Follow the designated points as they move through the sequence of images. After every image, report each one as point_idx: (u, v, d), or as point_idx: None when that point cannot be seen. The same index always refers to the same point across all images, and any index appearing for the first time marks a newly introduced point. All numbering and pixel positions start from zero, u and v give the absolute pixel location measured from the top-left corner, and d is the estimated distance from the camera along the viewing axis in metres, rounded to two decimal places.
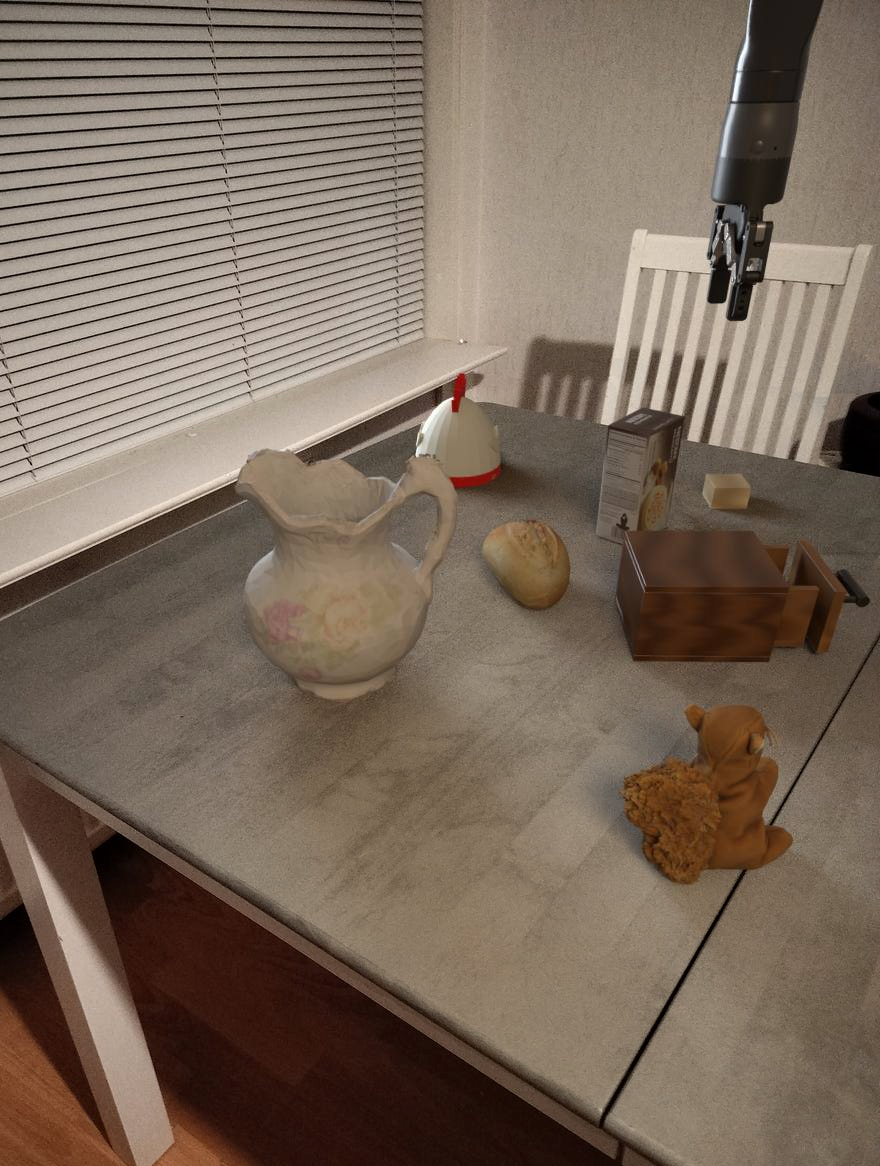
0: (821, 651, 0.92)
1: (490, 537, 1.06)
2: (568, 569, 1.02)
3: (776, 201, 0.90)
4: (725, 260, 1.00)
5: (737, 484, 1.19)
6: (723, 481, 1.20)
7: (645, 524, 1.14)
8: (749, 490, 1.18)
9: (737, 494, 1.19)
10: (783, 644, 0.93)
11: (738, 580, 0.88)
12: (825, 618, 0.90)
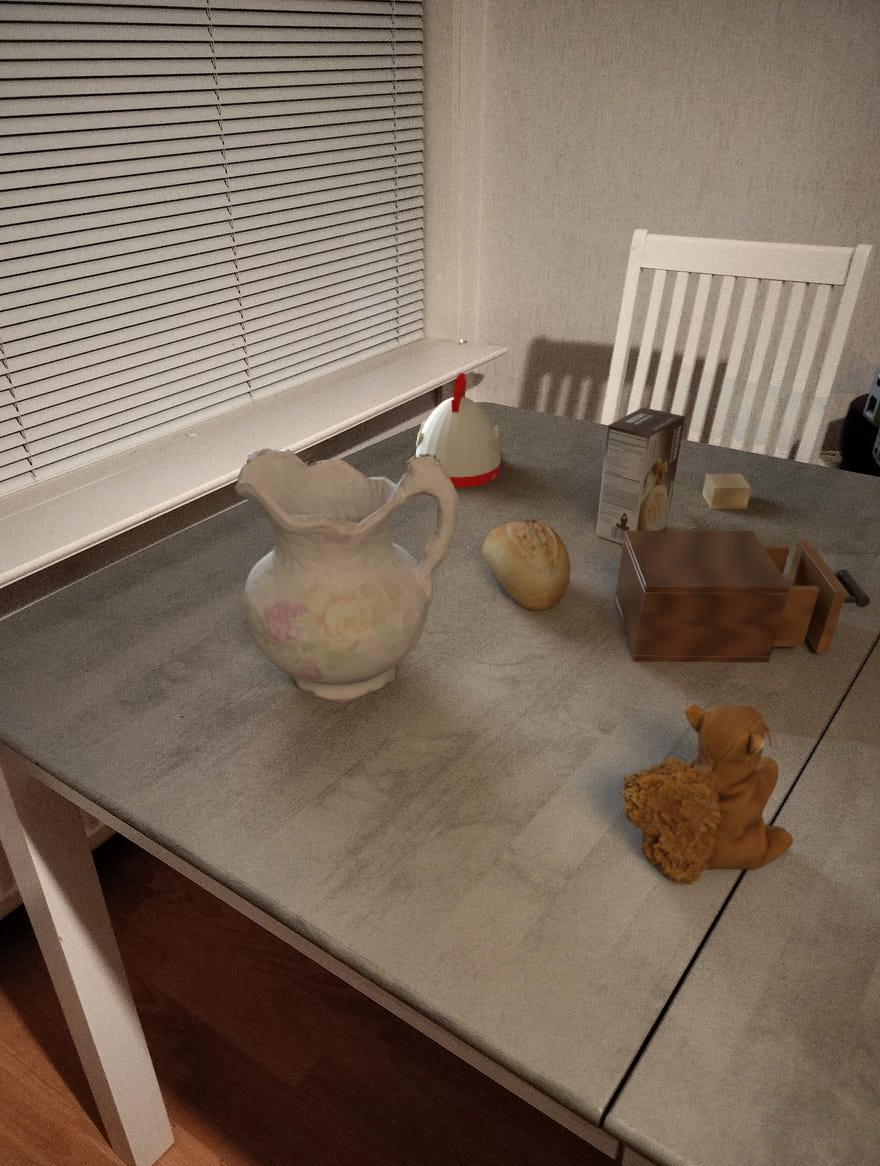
0: (821, 651, 0.92)
1: (490, 537, 1.06)
2: (568, 569, 1.02)
3: None
4: None
5: (737, 484, 1.19)
6: (723, 481, 1.20)
7: (645, 524, 1.14)
8: (749, 490, 1.18)
9: (737, 494, 1.19)
10: (783, 644, 0.93)
11: (738, 580, 0.88)
12: (825, 618, 0.90)
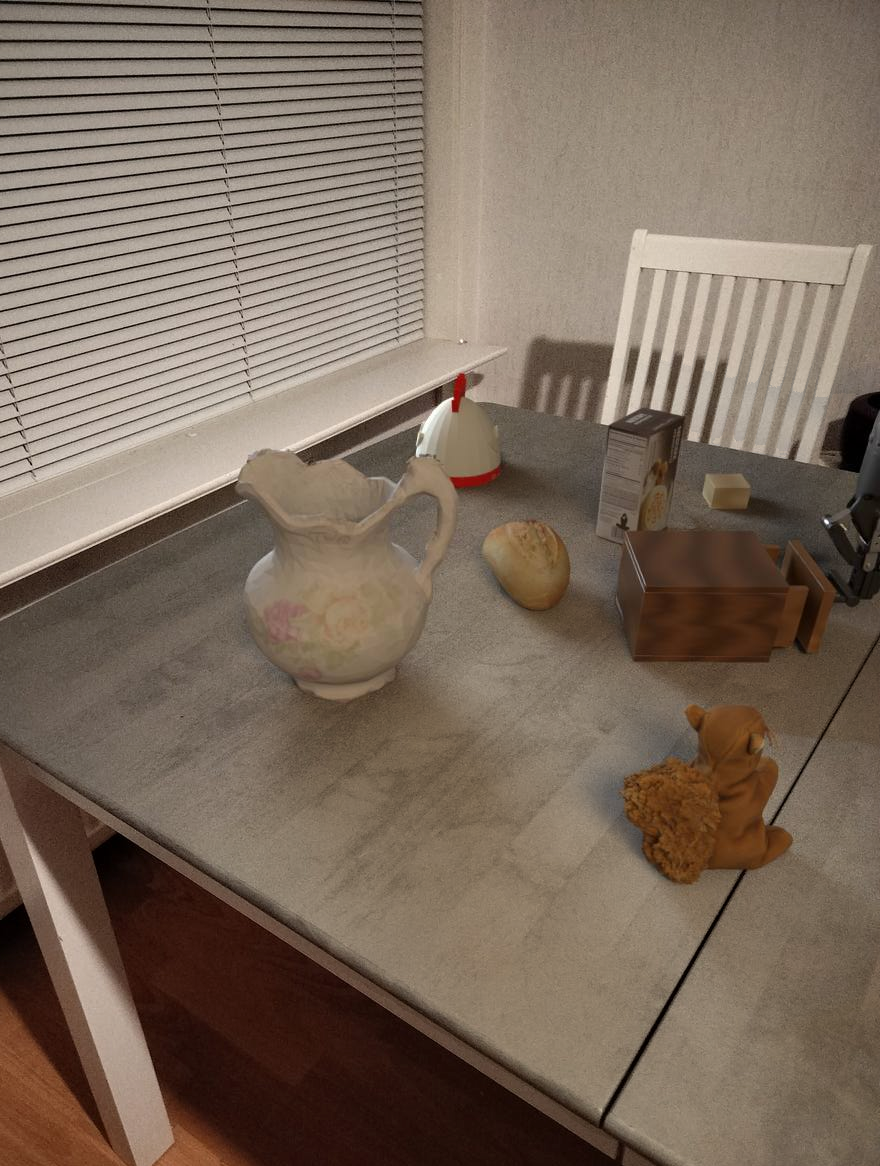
0: (811, 651, 0.92)
1: (490, 537, 1.06)
2: (568, 569, 1.02)
3: (879, 497, 0.85)
4: (877, 559, 0.92)
5: (737, 484, 1.19)
6: (723, 481, 1.20)
7: (645, 524, 1.14)
8: (749, 490, 1.18)
9: (737, 494, 1.19)
10: (774, 644, 0.93)
11: (738, 580, 0.88)
12: (815, 618, 0.90)
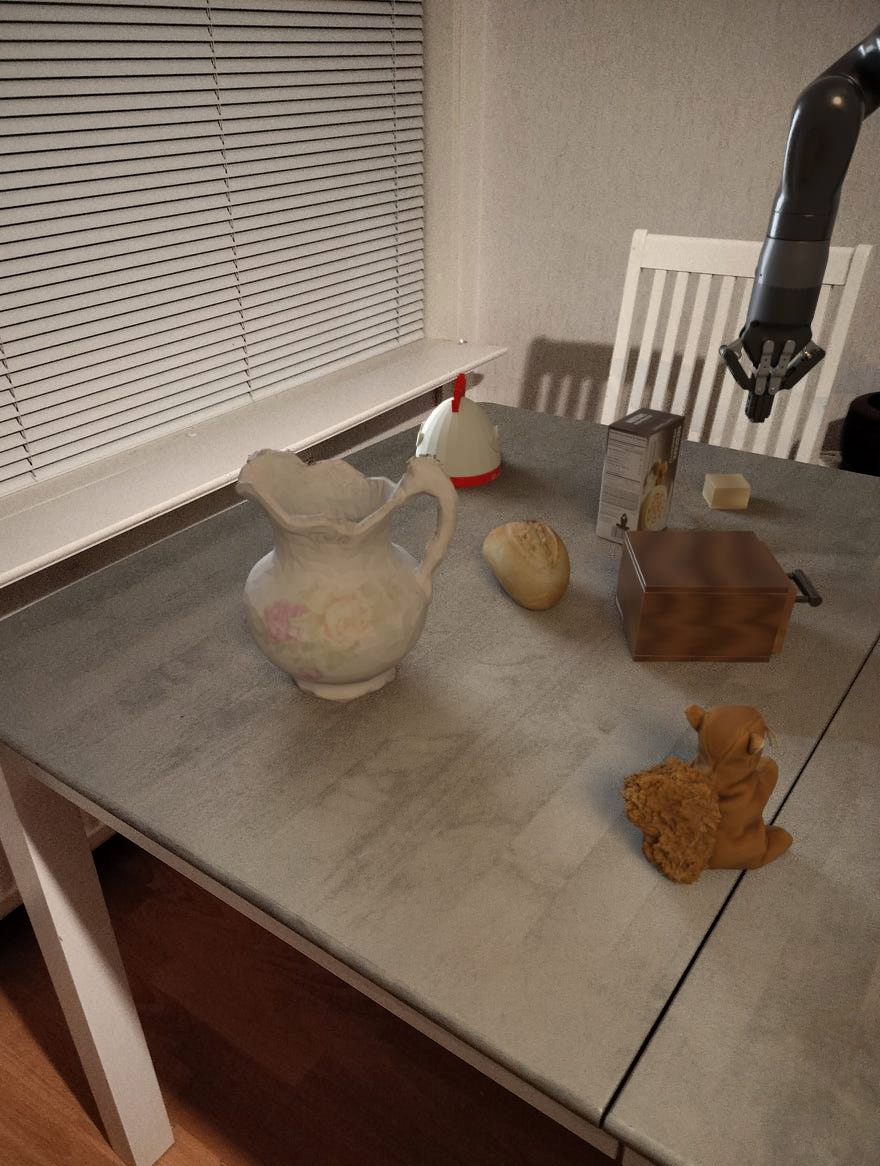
0: (774, 651, 0.92)
1: (490, 537, 1.06)
2: (568, 569, 1.02)
3: (763, 322, 1.01)
4: (767, 384, 1.07)
5: (737, 484, 1.19)
6: (723, 481, 1.20)
7: (645, 524, 1.14)
8: (749, 490, 1.18)
9: (737, 494, 1.19)
10: None
11: (738, 580, 0.88)
12: None
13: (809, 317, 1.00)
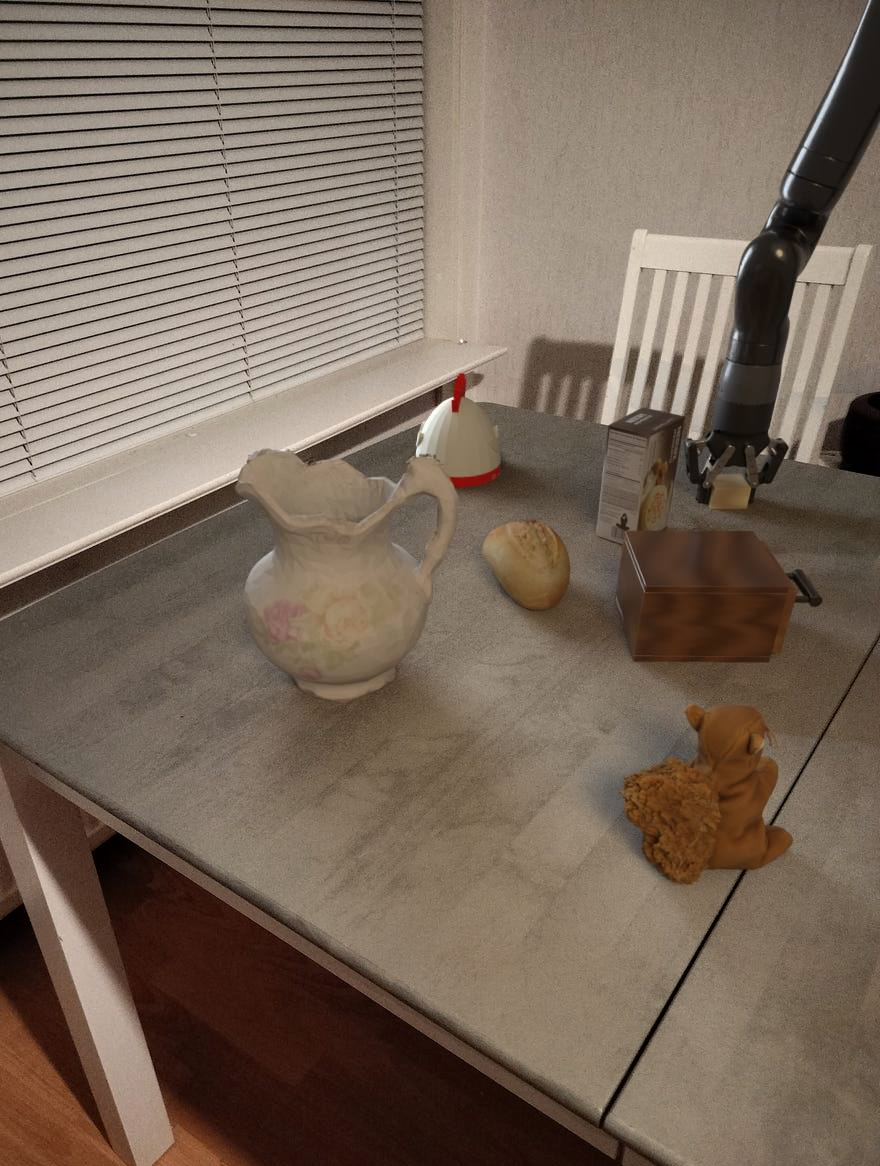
0: (774, 651, 0.92)
1: (490, 537, 1.06)
2: (568, 569, 1.02)
3: (724, 431, 1.14)
4: None
5: (737, 484, 1.19)
6: (723, 481, 1.20)
7: (645, 524, 1.14)
8: (749, 490, 1.18)
9: (737, 494, 1.19)
10: None
11: (738, 580, 0.88)
12: None
13: (765, 427, 1.13)
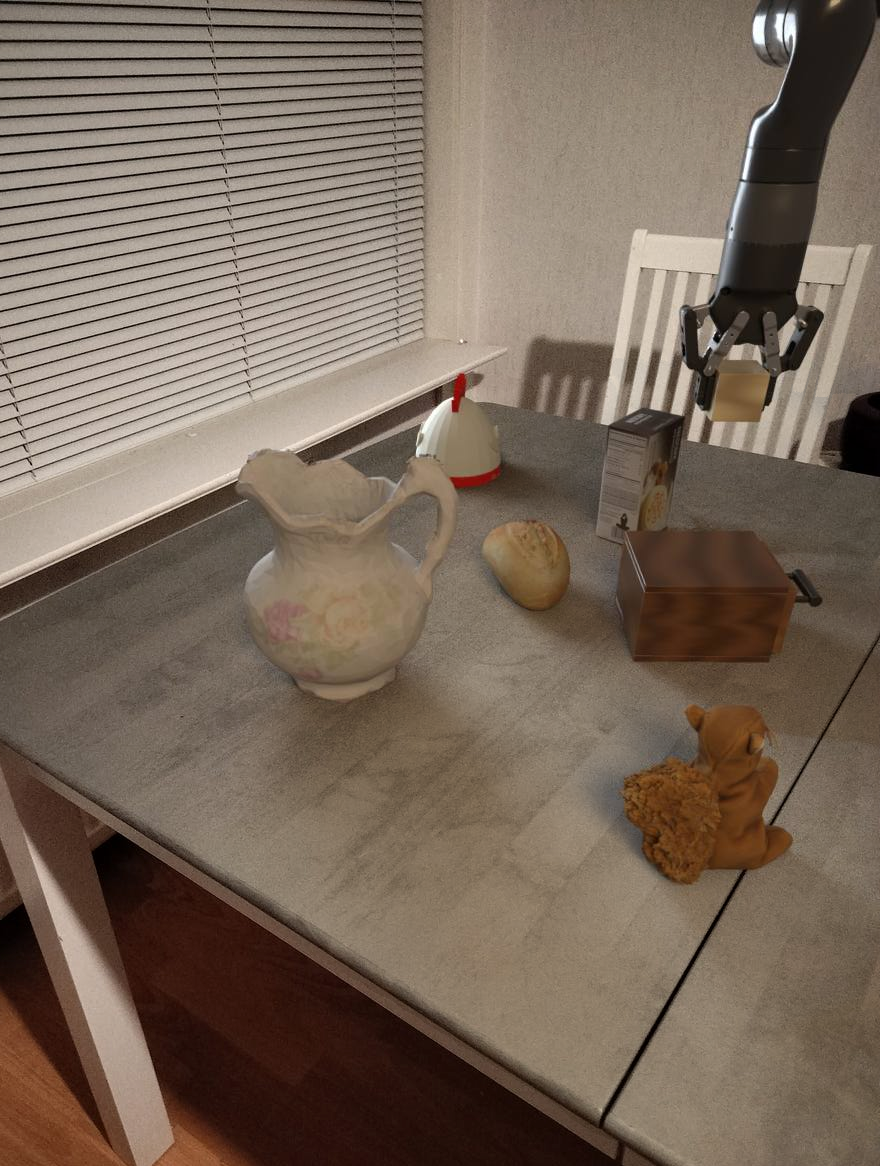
0: (774, 651, 0.92)
1: (490, 537, 1.06)
2: (568, 569, 1.02)
3: (734, 288, 0.81)
4: None
5: (752, 370, 0.87)
6: (731, 367, 0.88)
7: (645, 524, 1.14)
8: (767, 378, 0.86)
9: (751, 384, 0.86)
10: None
11: (738, 580, 0.88)
12: None
13: (792, 282, 0.80)
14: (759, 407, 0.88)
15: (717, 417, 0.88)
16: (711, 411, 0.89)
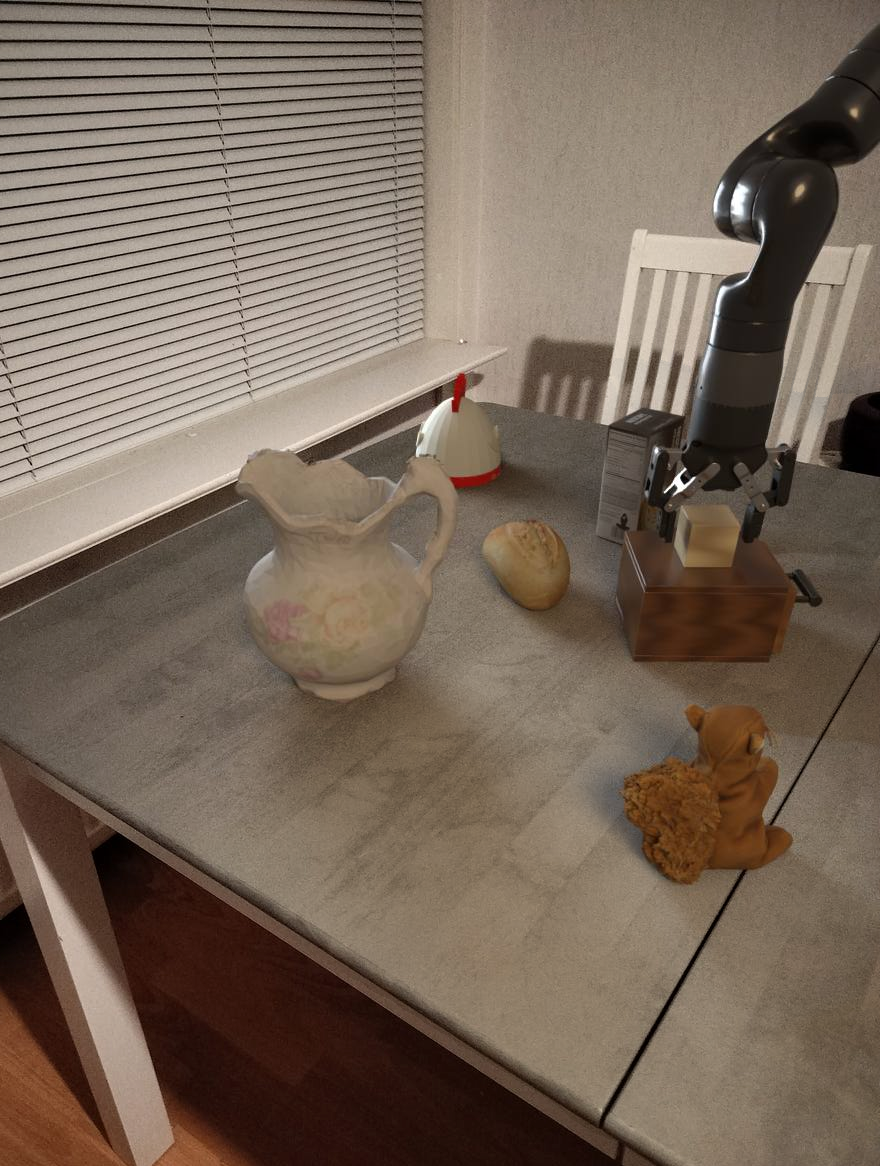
0: (774, 651, 0.92)
1: (490, 537, 1.06)
2: (568, 569, 1.02)
3: (705, 443, 0.83)
4: None
5: (722, 520, 0.89)
6: (703, 516, 0.90)
7: (645, 524, 1.14)
8: (738, 528, 0.88)
9: (722, 534, 0.89)
10: None
11: (738, 580, 0.88)
12: None
13: (761, 438, 0.82)
14: (730, 555, 0.90)
15: (690, 563, 0.91)
16: (684, 557, 0.91)
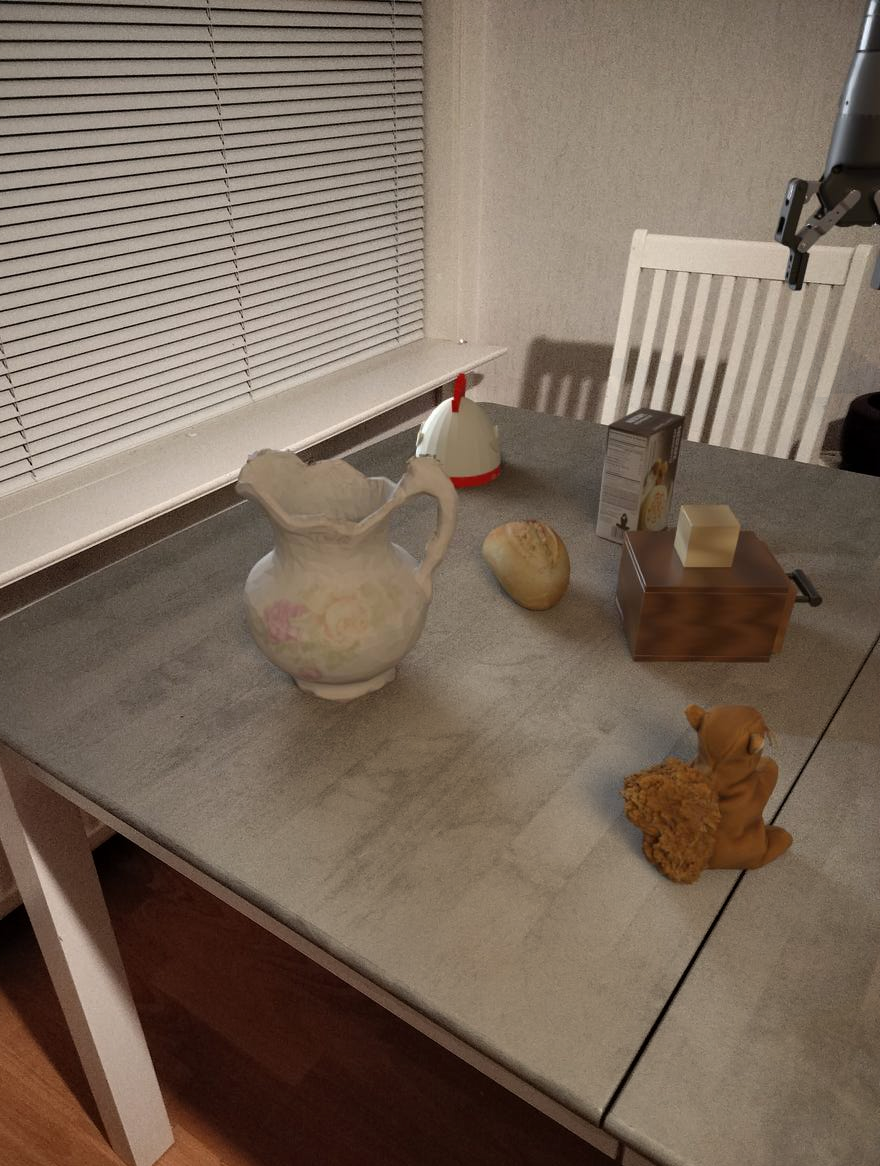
0: (774, 651, 0.92)
1: (490, 537, 1.06)
2: (568, 569, 1.02)
3: (848, 164, 0.82)
4: None
5: (722, 520, 0.89)
6: (703, 516, 0.90)
7: (645, 524, 1.14)
8: (738, 528, 0.88)
9: (722, 534, 0.89)
10: None
11: (738, 580, 0.88)
12: None
13: None
14: (730, 555, 0.90)
15: (690, 563, 0.91)
16: (684, 557, 0.91)
